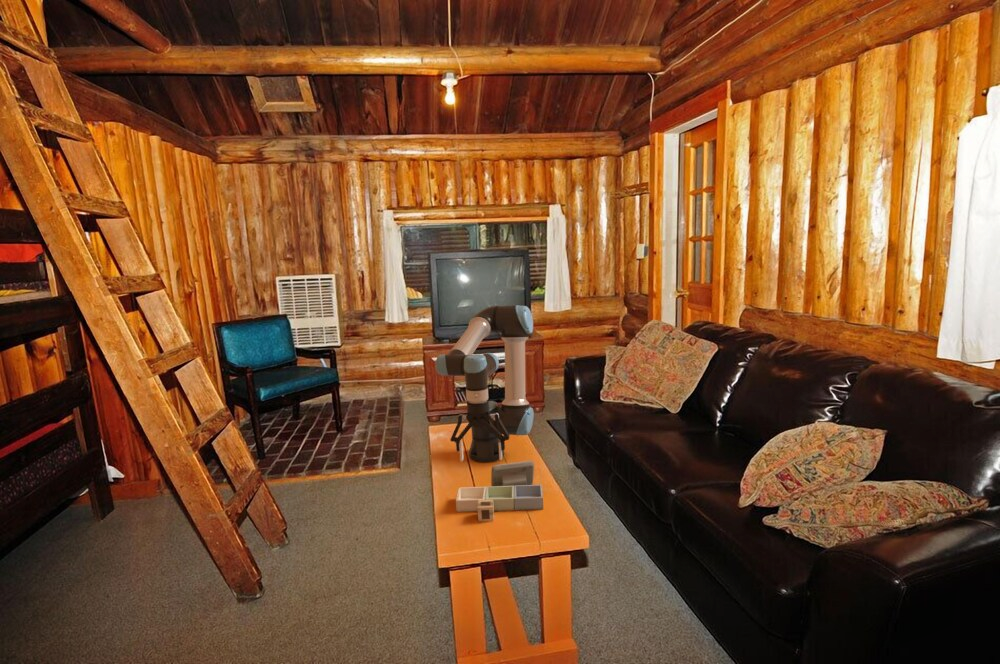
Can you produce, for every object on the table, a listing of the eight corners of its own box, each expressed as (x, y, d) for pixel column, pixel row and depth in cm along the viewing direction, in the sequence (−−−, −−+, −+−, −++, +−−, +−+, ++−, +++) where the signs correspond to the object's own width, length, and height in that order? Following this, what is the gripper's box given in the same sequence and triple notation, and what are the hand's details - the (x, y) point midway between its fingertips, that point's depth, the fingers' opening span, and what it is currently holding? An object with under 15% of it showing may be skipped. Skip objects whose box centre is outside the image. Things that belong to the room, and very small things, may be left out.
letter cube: (479, 514, 180) (478, 500, 179) (494, 513, 179) (493, 499, 179) (478, 521, 175) (477, 507, 174) (493, 521, 174) (492, 507, 174)
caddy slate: (515, 496, 190) (514, 485, 190) (542, 495, 190) (541, 484, 189) (514, 510, 181) (514, 498, 180) (543, 509, 180) (542, 497, 180)
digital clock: (534, 483, 200) (533, 456, 199) (535, 494, 191) (534, 466, 190) (492, 484, 201) (490, 458, 199) (491, 496, 192) (489, 468, 190)
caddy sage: (487, 497, 191) (486, 486, 190) (514, 496, 190) (513, 485, 190) (485, 511, 181) (484, 499, 180) (514, 510, 181) (513, 498, 180)
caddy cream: (459, 498, 191) (459, 487, 190) (486, 497, 191) (486, 486, 190) (456, 512, 182) (455, 500, 181) (485, 511, 181) (484, 499, 180)
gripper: (439, 404, 177) (443, 464, 180) (513, 402, 175) (516, 463, 178) (443, 398, 184) (447, 455, 188) (514, 396, 182) (517, 454, 186)
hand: (481, 459), depth 183 cm, fingers open, 13 cm apart
